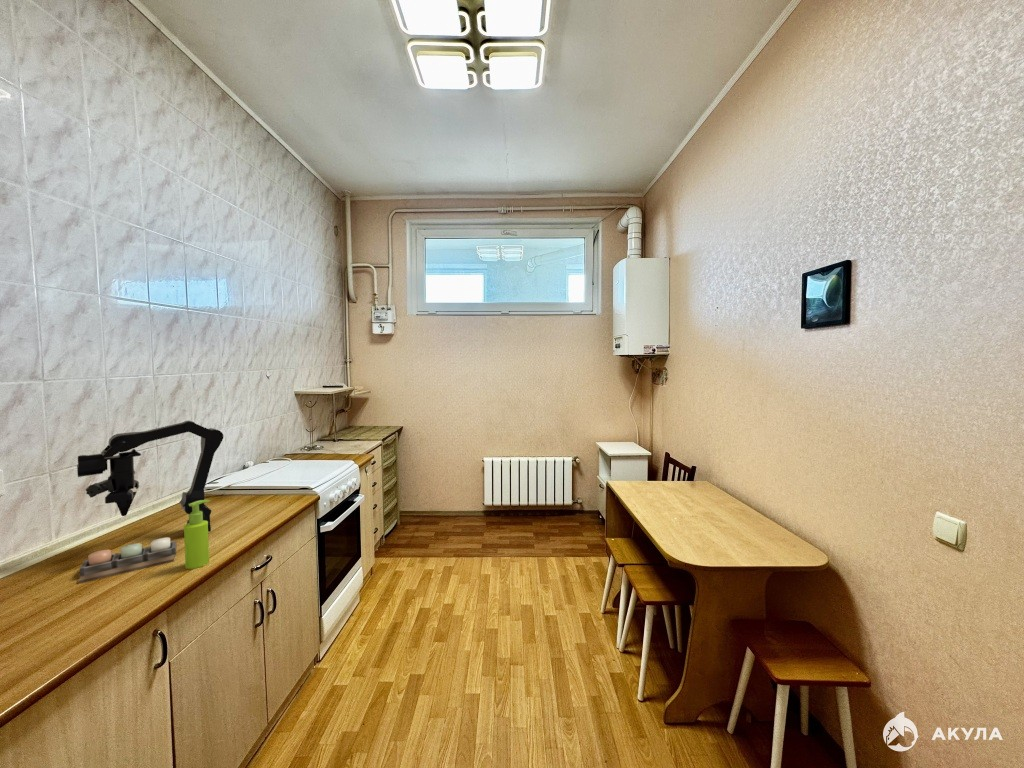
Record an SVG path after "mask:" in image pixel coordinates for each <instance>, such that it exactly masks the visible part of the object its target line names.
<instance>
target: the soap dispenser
mask: <svg viewBox="0 0 1024 768" xmlns="http://www.w3.org/2000/svg"><path fill="white" fill-rule="evenodd" d="M209 502H211V499H205V500H199V501H196V502H193V503H190V504H189V506H192V512H191V513H190V514H188V520H189V523H188V524H187V523H186V524H184V526H183V530H184V531H183V532H184V533H183V535H184V558H185V559H184V560H185V563H184V564H185V569H188V570H193V569H199V568H202V567H204V566H206V565H208V564H209V563H210V550H209V549H210V548H209V547H210V544H209V543H210V542H209V531H208V521H205V520H203V512H202V511H199V504H202V503H204V504H205V503H209Z"/></svg>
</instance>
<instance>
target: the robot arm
mask: <svg viewBox="0 0 1024 768" xmlns="http://www.w3.org/2000/svg"><path fill="white" fill-rule="evenodd" d="M185 433H190V434H193V435H195V436H198V437H200V455H199V458H198V461H197V465H196V468H195V472H194V475H193V477H192V481H191V485H190V488H189V489H188V491H187V492H185V491H183V492H182V493H181V499H180V500H179V504H180V507H181V508H182V510H183V511H184V512H185V513H186V514H187V515H189V514H190V513H191V512H192V506H189V504H190V503H193V502H196V501H199V500H206V499H205V487H206V484H207V481H208V477H209V474H210V470H211V466H212V463H213V460H214V456H215V453H216V452H217V450H218V449H219V448H220V446H221V444H222V442H223V439H224V433H223V432H222V431H221V430H218V429H216V428H212V427H211V428H209V427H208V428H207V427H204V426H202V425H199V424H197V423H196V422H195V421H192V420H185V421H182V422H178V423H174V424H170V425H165V426H161V427H157V428H153V429H148V430H145V431H132V432H123V433H116V434H113V435H111V437H110V438H109V439H108V443H107V444H108V445H106V446H105V448H104V449H103V450H102V451H100V453H97V454H96V453H95V454H85V455H84V454H81V455H78V456H77V464H76V470H77V471H76V473H77V474H76V475H77V478H81V477H87V476H94V475H103V473H104V472H105V471H108V460H109V472H110V475H109V476H108V477H107V479H104V480H102V481H99V482H95V483H93V484H90V485H88V486H87V487H86V488H85V491H86V493H85V494H86V495H88V497H89V498H95V497H96V496H97V495H100V494H102V493H105V492H108V494H107V495H106V496H105V497H104V503H105V504H108V505H109V504H113V503H115V504H116V506H117V509H118V510H119V513H120V515H121V517H126V516H127V515H128V512H129V510H130V508H131V506H132V504H133V502H134V500H135V496H136V495H137V491H133V489H136V490H138V489H139V488H140V482H139V481H138V480H136V479H135V474H136V471H135V467H134V466H135V465H134V464H135V463H134V457H140V456H142V454H141V453H140V452H139V451H137V450H136V449H135V448H138V447H140V446H142V445H145V444H147V443H151V442H154V441H158V440H161V439H165V438H166V439H167V438H169V437H173V436H177V435H182V434H185ZM199 511H202V512H203V520H205V521H208V532H211V531H212V525H211V513H212V509H210V507H208V506H207V505H206V504H205V503H202V504H199ZM188 523H189V519H187V520H186V524H188Z"/></svg>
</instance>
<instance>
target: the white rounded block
mask: <svg viewBox="0 0 1024 768" xmlns="http://www.w3.org/2000/svg"><path fill="white" fill-rule="evenodd" d="M170 542H171V537H160V538H157V539H154V540H152V541H151V542H150V546H151V553H152V552H156V551H161V550H165V549H170V548H171V547H170Z"/></svg>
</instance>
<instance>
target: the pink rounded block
mask: <svg viewBox="0 0 1024 768" xmlns="http://www.w3.org/2000/svg"><path fill="white" fill-rule="evenodd" d="M111 554H112V550H111V549H103V550H97V551H95V552H91V553H89V554H88V556H87V557H88V559H87V560H89V566H92V565H97V564H101V563H106V562H110V561H111Z"/></svg>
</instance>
